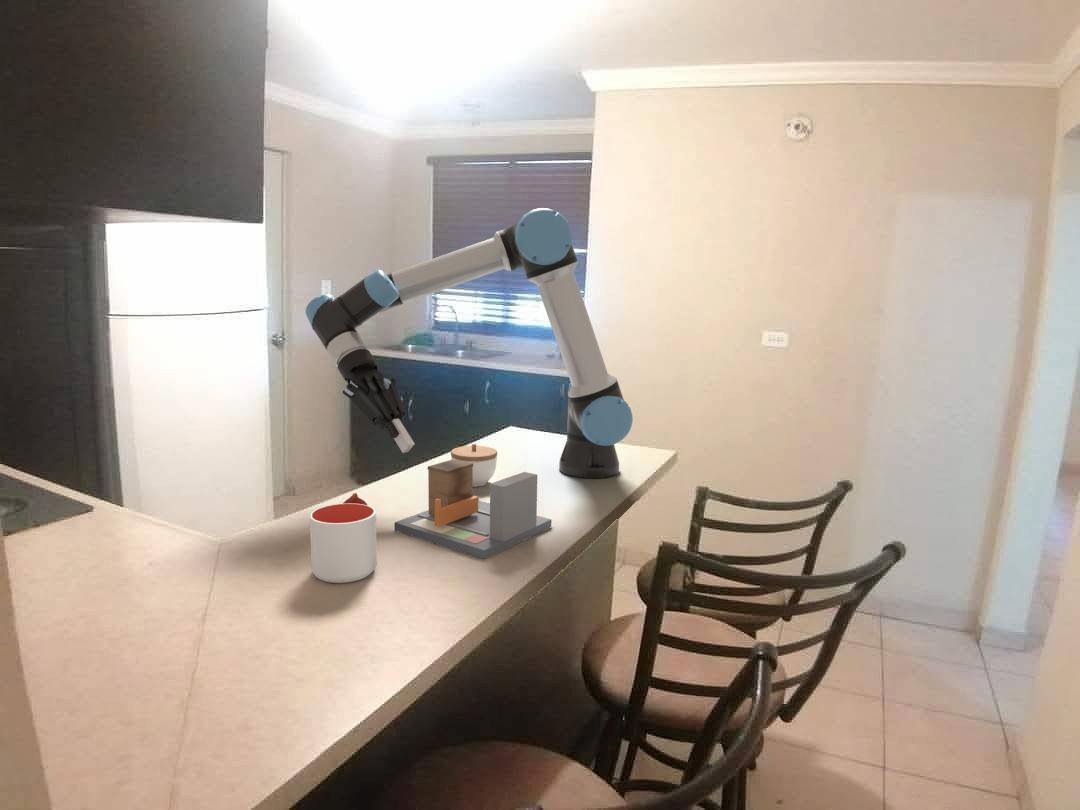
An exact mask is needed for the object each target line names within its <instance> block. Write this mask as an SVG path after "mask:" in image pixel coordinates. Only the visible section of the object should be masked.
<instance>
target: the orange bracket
mask: <svg viewBox="0 0 1080 810" xmlns="http://www.w3.org/2000/svg"><path fill="white" fill-rule="evenodd" d="M478 500H479V496H477V495H472V497H470V498H467V499H464V500H461V501H459V502H456V503H453V504H450V505H447V506H445V507H442V508H441V500H440V499H435V526H437V527H440V526H443V525H445V524H448V523H450V522H453V521H455V520H458V519H461V518H463V517H466V516H468V515H471V514H474V513H476V512H478Z"/></svg>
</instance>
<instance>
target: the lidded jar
mask: <svg viewBox="0 0 1080 810" xmlns="http://www.w3.org/2000/svg"><path fill="white" fill-rule="evenodd" d="M497 456H498V451H497V449H495V448H493V447H490V446H483V445H477V443H471V445H463V446H459V447H455V448H453V449H451V451H450V458H451V459H450V460H452V459H455V460H459V461H464V462H468V463H473V467H472V488H475V487H476V488H477V487H478V486H479V487H483V485H484V486H485V485H487V484H488V482H489V481H490V480H491V479H492V478H493V476H494V475H495V471H496V467H497V460H498V459H497Z"/></svg>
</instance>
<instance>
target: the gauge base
mask: <svg viewBox="0 0 1080 810" xmlns="http://www.w3.org/2000/svg"><path fill="white" fill-rule="evenodd" d="M537 508H538V474H537V473H532V472H527V471H524V472H520V473H517V474H514V475H511V476H508V477H506V478H503V479H500V480H497V481H494V482H491V483H490V484H489V502H485V501H483V500H479V499H478V512H476V513H474V514H471V515H468V516H466V517H463V518H461V519H458V520H455V521H453V522H450V523H448V524H445V525H443V526H440V527H437V526H435V516H432V515H429V509H427V510H425V511H422V512H420V513H416V514H414V515H411V516H409V517H406V518H403V519H399V520H397V521H395V522H394V524H393V525H394V527H393V528H394V531H395V532H399V533H402V534H405V535H408V536H409V537H414V538H417V539H420V540H423V541H427V542H430V543H433V544H434V545H435V544H437V545H439V546H442V547H445V548H449V549H452V550H453V551H454V550H455V551H457V552H461V553H464V554H467V555H470V556H473V557H476V558H479V559H483V560H486V559H488V558H490V557H492V556H495V555H497V554H498V553H500V552H501V553H502V551H505V550H507V549H509V548H511V547H513V546H515V545H517V544H520V543H521V541H522V542H524V541H526V540H527V538H528V539H529V537H530V538H531V537H534V536H536V535H538V534H540V533H542V532H544V530H545V531H547V530H549V529H551V528H552V518H548V517H543V516H539V515H537V513H538V511H537ZM550 527H551V528H550ZM546 529H547V530H546ZM533 535H534V536H533ZM525 539H526V540H525ZM523 540H524V541H523Z"/></svg>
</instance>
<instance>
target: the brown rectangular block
mask: <svg viewBox="0 0 1080 810" xmlns="http://www.w3.org/2000/svg"><path fill="white" fill-rule="evenodd" d="M472 467H473V463H468V462H464V461H459V460H455V459H452V460H451V459H449V460H446V461H442V462H439V463H436V464H431V465H428V466H427V470H428V471H427V472H428V485H427V486H428V510H429V515H432V516H435V499H440V500H441V508H442V507H445V506H447V505H450V504H453V503H456V502H459V501H461V500H464V499H467V498H470V497H473V487H472Z"/></svg>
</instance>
